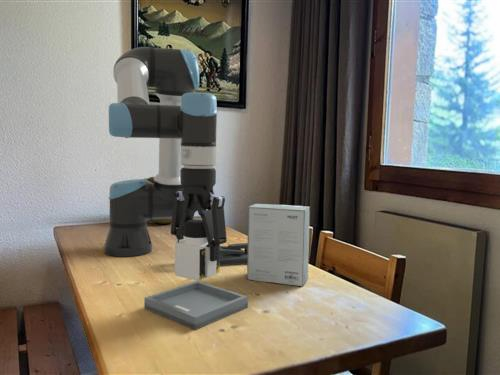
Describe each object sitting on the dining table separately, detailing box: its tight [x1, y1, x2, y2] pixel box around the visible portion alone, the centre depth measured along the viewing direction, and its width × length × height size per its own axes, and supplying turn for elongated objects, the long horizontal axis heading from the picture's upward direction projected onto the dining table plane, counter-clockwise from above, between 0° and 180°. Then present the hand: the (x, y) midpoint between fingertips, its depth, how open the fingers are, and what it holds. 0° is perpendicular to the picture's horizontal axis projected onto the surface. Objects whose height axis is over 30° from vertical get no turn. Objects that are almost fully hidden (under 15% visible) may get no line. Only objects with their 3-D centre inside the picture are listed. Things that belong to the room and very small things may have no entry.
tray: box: [144, 280, 249, 331], centre depth 97 cm, size 16×16×2 cm
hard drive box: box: [246, 203, 311, 287], centre depth 118 cm, size 16×8×20 cm, turn 71°
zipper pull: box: [176, 241, 248, 267], centre depth 133 cm, size 9×7×25 cm
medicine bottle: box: [174, 218, 221, 282], centre depth 96 cm, size 7×7×12 cm
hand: (197, 271), depth 97 cm, fingers closed on medicine bottle, 7 cm apart
